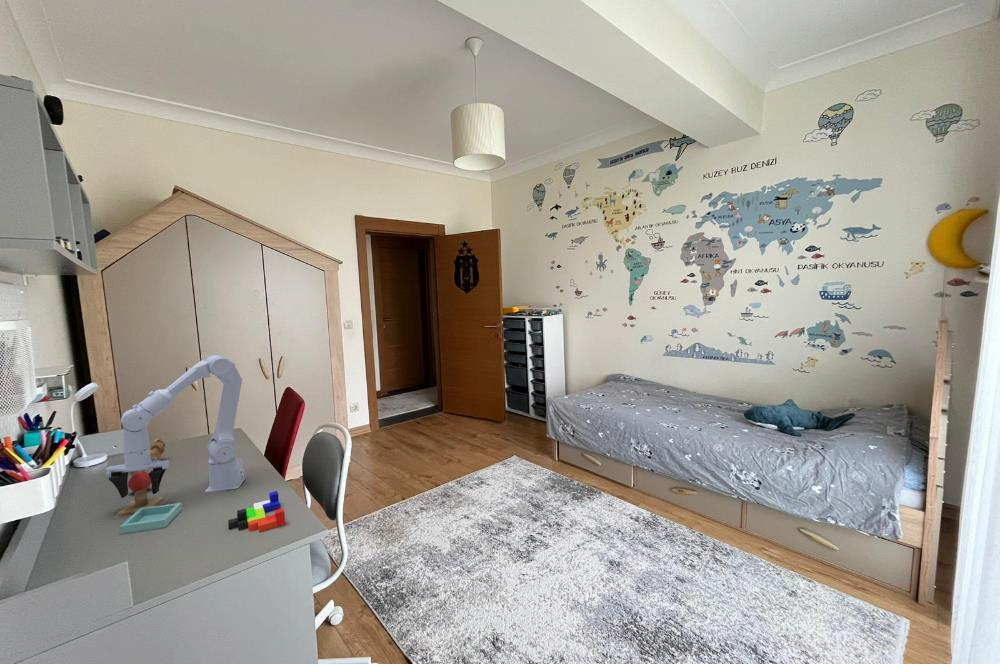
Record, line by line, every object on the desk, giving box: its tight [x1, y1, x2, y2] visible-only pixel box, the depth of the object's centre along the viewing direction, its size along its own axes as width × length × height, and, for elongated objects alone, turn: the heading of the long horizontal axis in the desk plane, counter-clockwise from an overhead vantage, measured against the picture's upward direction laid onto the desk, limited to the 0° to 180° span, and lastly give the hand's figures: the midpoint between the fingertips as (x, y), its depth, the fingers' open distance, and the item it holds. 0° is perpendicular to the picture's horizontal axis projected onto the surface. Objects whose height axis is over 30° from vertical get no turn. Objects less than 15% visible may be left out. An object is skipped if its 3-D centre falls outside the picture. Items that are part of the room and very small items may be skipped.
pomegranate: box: [127, 470, 152, 493], centre depth 132 cm, size 6×6×8 cm
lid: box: [116, 489, 165, 518], centre depth 122 cm, size 8×8×5 cm
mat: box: [112, 498, 169, 519], centre depth 122 cm, size 10×9×1 cm
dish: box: [119, 502, 183, 535], centre depth 114 cm, size 10×10×2 cm
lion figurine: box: [128, 438, 166, 475], centre depth 153 cm, size 15×5×9 cm, turn 1°
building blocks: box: [227, 490, 286, 533], centre depth 115 cm, size 15×13×4 cm
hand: (140, 494), depth 121 cm, fingers open, 7 cm apart
